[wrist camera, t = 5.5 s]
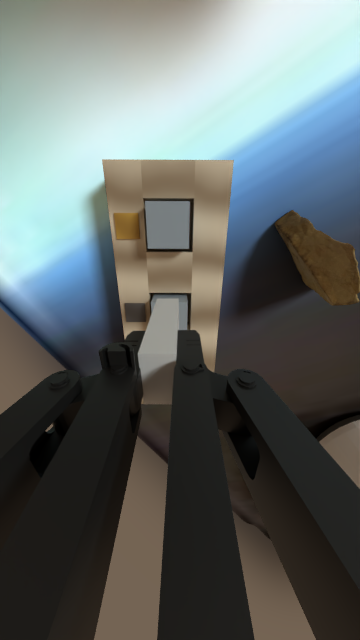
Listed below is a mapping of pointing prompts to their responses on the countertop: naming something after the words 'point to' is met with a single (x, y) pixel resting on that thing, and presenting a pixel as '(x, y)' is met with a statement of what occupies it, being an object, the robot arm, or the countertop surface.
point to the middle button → (182, 306)
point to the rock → (321, 260)
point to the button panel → (170, 264)
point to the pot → (344, 445)
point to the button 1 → (167, 224)
